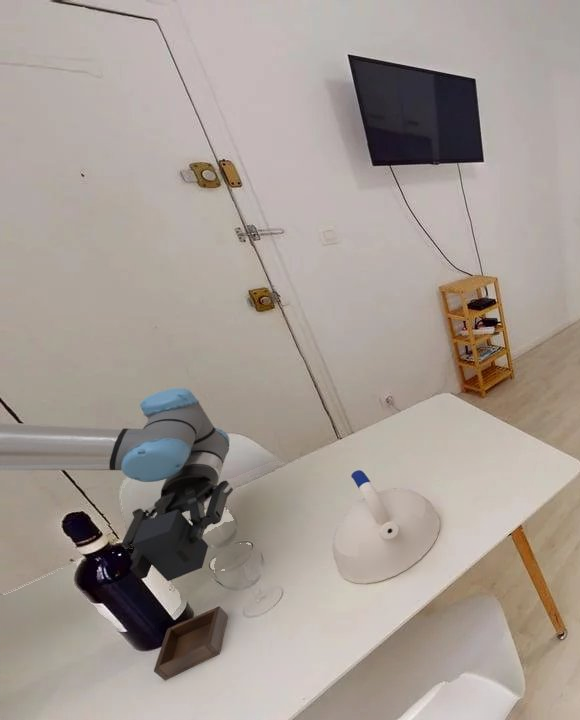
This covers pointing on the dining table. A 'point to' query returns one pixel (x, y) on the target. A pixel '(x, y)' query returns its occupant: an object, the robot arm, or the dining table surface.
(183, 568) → the dark gray block
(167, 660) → the tray
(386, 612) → the dining table surface
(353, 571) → the white plastic funnel
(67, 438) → the robot arm
